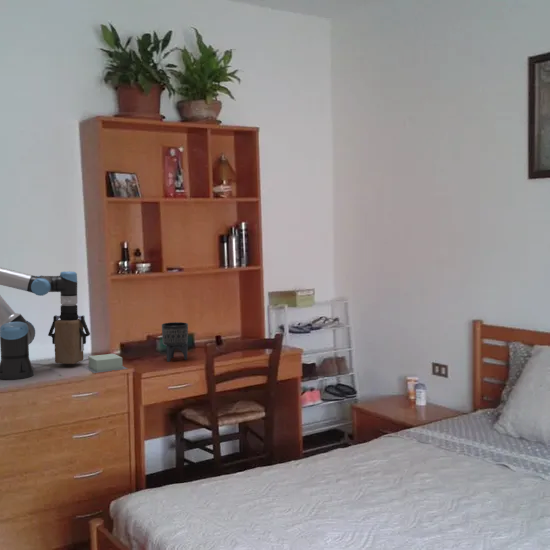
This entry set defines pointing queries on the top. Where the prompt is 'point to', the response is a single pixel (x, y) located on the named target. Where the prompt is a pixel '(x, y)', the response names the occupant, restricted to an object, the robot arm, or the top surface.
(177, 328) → the planter
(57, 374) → the top surface
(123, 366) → the plate
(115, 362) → the base brick
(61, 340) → the wooden block
